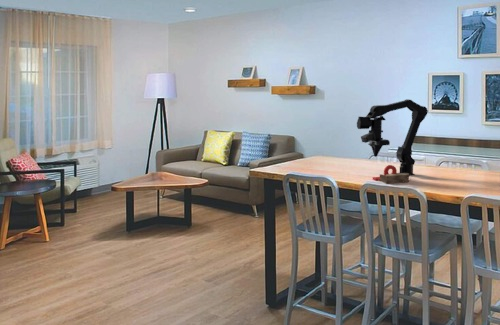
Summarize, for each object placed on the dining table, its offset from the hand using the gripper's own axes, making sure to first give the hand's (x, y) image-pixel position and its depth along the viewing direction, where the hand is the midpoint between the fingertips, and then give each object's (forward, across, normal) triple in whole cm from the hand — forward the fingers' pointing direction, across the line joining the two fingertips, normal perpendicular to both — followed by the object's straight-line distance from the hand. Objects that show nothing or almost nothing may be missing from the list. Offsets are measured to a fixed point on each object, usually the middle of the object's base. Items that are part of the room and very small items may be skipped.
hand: (375, 156), depth 271 cm
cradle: (+11, +17, 0) cm, 20 cm away
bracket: (+11, +10, 0) cm, 15 cm away
